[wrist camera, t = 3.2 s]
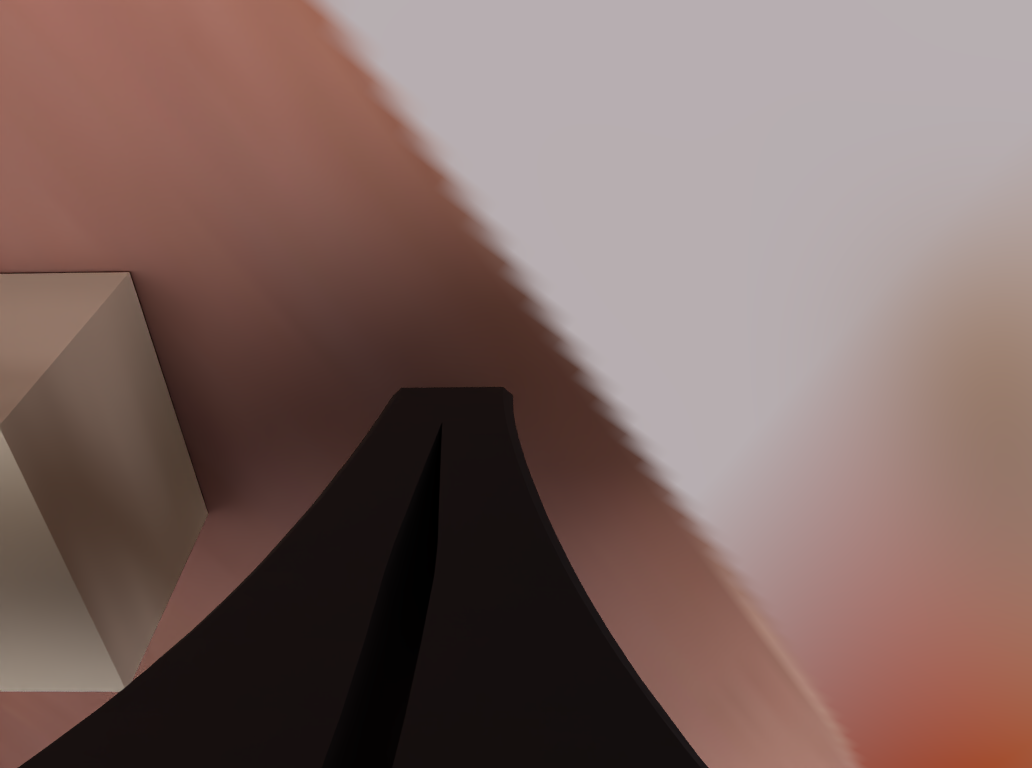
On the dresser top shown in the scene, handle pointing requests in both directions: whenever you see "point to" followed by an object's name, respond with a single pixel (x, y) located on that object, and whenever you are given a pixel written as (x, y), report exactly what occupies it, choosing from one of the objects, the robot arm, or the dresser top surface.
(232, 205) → the dresser top surface
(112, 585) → the maple t block
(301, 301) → the dresser top surface
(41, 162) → the dresser top surface
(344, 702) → the robot arm
